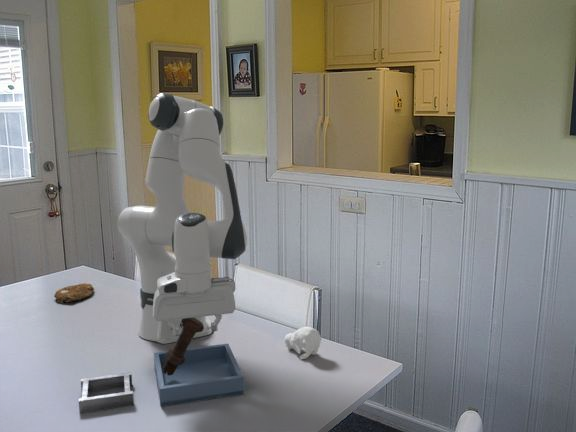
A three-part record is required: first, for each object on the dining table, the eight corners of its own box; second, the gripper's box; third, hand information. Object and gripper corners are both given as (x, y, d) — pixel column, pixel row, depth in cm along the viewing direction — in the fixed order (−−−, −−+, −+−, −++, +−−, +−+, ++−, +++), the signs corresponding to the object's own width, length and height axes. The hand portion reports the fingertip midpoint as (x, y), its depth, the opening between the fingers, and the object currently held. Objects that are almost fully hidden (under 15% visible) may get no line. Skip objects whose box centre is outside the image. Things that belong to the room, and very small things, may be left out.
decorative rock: (78, 289, 216) (48, 304, 203) (76, 279, 215) (46, 293, 202) (102, 292, 212) (74, 307, 198) (101, 281, 211) (72, 295, 197)
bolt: (178, 373, 147) (205, 323, 145) (176, 381, 142) (203, 329, 140) (158, 363, 146) (184, 313, 145) (155, 371, 141) (182, 319, 140)
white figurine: (306, 332, 154) (277, 324, 163) (308, 363, 155) (279, 352, 164) (322, 326, 158) (293, 318, 167) (324, 356, 159) (295, 346, 168)
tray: (228, 358, 158) (228, 343, 157) (244, 394, 140) (243, 377, 139) (154, 368, 153) (153, 352, 152) (160, 406, 134) (159, 389, 133)
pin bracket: (132, 383, 145) (131, 372, 144) (133, 405, 135) (132, 393, 134) (81, 390, 141) (81, 379, 141) (79, 413, 131) (78, 401, 131)
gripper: (232, 272, 146) (233, 323, 149) (150, 279, 141) (153, 332, 144) (237, 279, 141) (238, 332, 143) (152, 288, 135) (155, 342, 138)
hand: (195, 332), depth 143 cm, fingers open, 8 cm apart
